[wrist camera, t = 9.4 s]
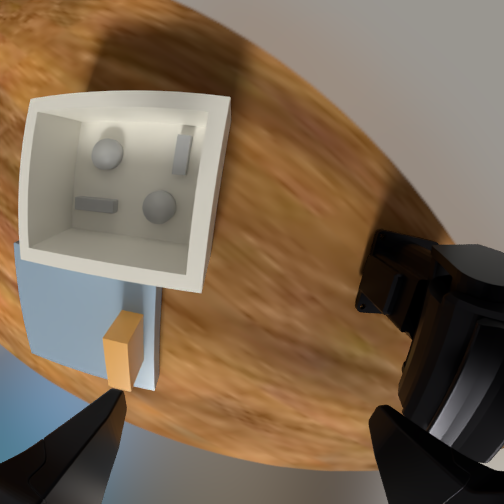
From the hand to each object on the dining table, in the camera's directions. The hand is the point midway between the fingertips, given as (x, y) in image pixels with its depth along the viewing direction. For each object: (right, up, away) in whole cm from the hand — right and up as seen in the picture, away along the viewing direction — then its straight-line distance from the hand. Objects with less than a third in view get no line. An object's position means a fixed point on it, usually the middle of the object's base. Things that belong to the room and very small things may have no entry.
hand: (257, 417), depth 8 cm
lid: (-13, +1, +11) cm, 17 cm away
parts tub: (-8, +10, +9) cm, 16 cm away
